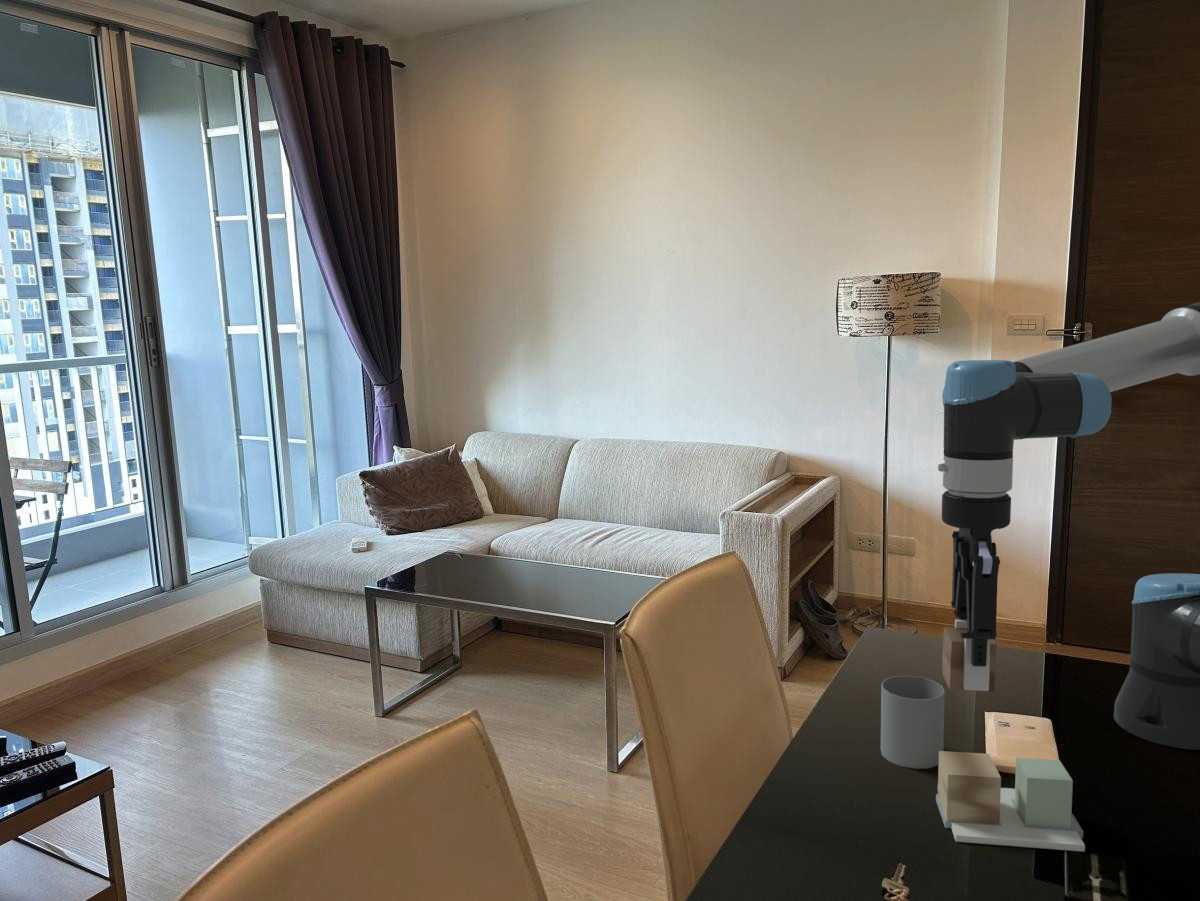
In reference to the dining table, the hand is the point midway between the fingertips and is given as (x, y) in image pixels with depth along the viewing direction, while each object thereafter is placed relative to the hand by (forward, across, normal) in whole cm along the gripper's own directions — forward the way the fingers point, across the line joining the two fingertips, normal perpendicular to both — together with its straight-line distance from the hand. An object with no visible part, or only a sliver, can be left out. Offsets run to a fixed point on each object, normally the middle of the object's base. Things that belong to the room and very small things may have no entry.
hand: (970, 679), depth 107 cm
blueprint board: (+18, 0, +5) cm, 18 cm away
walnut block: (0, 0, 0) cm, 1 cm away
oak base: (+17, 0, 0) cm, 17 cm away
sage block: (+17, 0, +9) cm, 19 cm away
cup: (+18, -16, -4) cm, 24 cm away
